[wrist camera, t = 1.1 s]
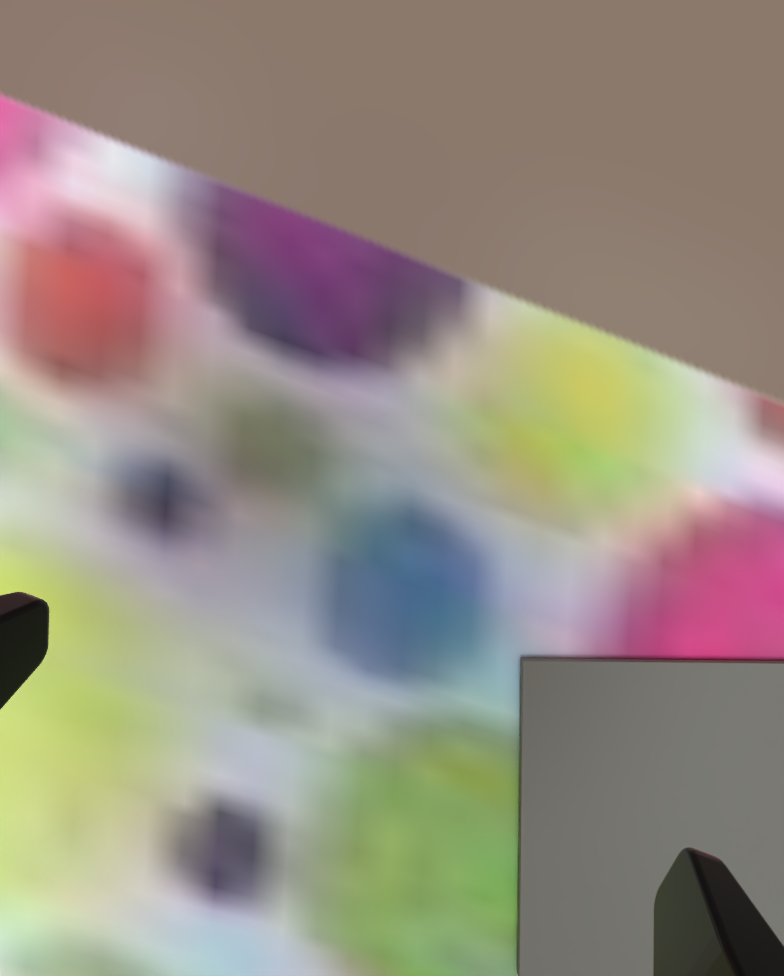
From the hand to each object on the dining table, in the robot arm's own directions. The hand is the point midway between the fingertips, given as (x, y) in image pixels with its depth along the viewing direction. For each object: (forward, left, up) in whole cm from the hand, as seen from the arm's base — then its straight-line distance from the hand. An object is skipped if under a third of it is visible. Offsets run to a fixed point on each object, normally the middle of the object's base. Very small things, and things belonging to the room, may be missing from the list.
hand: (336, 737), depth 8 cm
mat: (-9, -12, -16) cm, 22 cm away
